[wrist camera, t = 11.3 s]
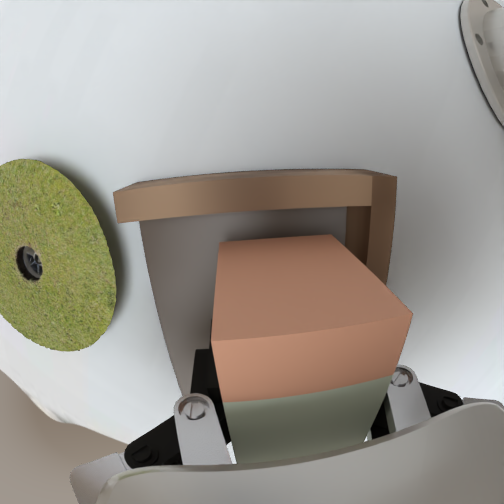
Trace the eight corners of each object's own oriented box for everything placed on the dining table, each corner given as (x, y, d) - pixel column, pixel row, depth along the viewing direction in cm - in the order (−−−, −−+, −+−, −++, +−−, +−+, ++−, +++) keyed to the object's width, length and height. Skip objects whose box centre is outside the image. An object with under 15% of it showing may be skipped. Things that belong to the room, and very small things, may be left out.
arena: (364, 169, 13) (397, 176, 10) (338, 387, 18) (351, 417, 15) (137, 182, 12) (112, 192, 9) (187, 402, 17) (183, 435, 15)
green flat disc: (164, 222, 13) (154, 234, 11) (95, 361, 16) (86, 380, 14) (15, 125, 10) (-6, 125, 8) (-18, 274, 13) (-33, 285, 11)
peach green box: (316, 386, 14) (345, 473, 9) (237, 395, 14) (243, 490, 8) (331, 234, 11) (412, 313, 5) (219, 241, 11) (211, 341, 5)
